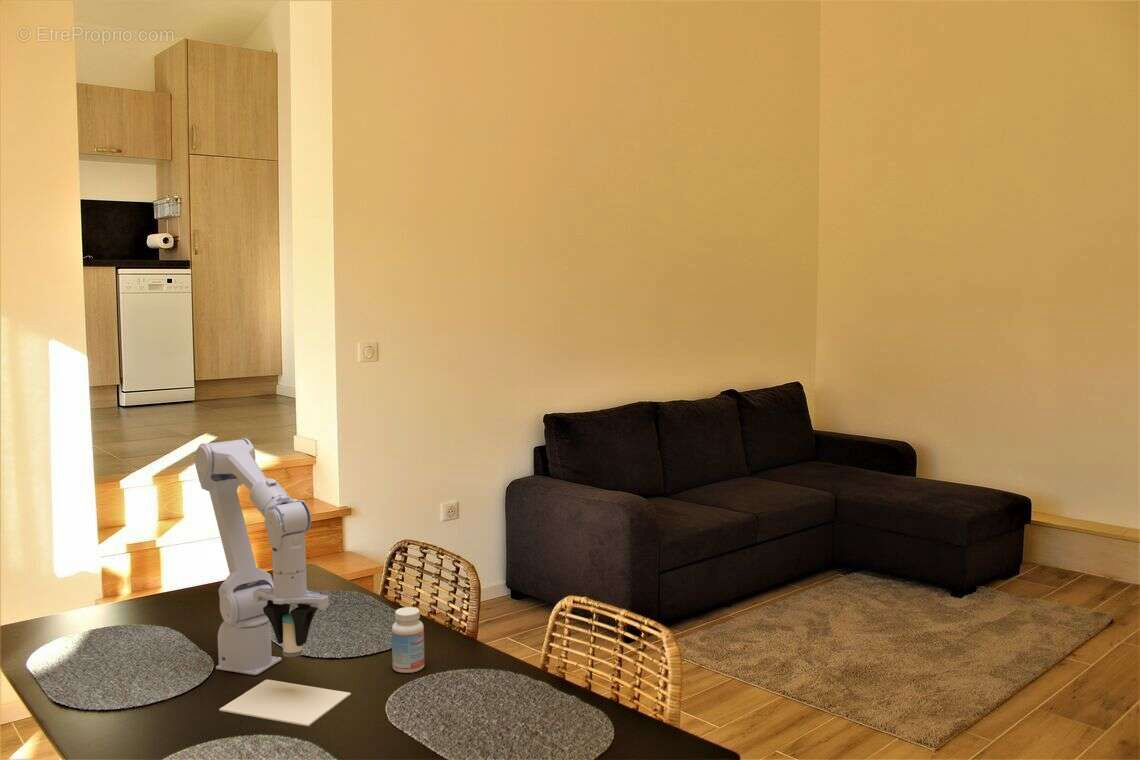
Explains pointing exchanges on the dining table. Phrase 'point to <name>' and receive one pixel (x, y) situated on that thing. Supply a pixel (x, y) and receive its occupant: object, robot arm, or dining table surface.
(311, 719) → the paper
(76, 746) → the dining table surface
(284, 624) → the green lidded jar
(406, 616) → the pill bottle
